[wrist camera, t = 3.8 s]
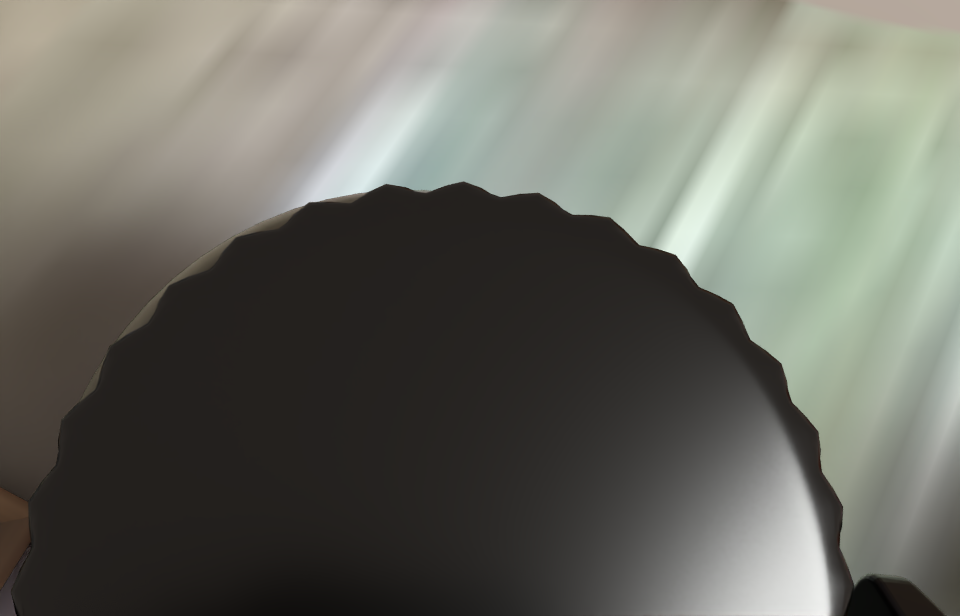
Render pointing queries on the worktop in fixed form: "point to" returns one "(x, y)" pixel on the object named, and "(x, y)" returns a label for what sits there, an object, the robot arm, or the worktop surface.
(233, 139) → the worktop surface
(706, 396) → the supplement bottle
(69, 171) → the worktop surface
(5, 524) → the bay
